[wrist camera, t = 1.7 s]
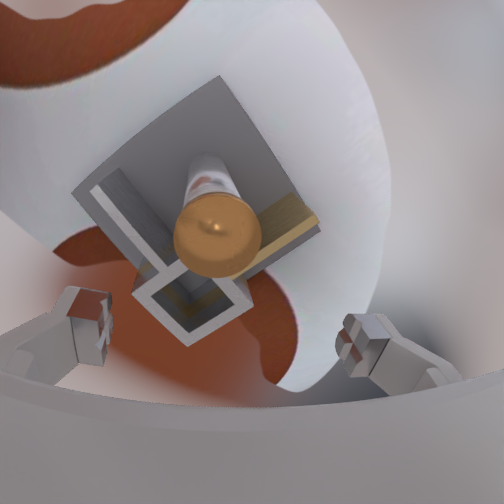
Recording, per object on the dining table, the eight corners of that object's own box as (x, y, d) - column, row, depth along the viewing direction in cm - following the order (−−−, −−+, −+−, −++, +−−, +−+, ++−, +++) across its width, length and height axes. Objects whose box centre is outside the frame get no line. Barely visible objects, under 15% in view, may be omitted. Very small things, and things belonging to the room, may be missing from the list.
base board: (74, 190, 32) (71, 193, 31) (218, 76, 30) (219, 75, 29) (186, 314, 42) (185, 319, 41) (317, 227, 40) (320, 230, 39)
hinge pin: (177, 166, 32) (155, 231, 16) (212, 141, 32) (229, 178, 15) (202, 199, 35) (208, 292, 18) (236, 175, 34) (277, 246, 17)
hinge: (88, 194, 32) (62, 218, 25) (223, 89, 30) (230, 83, 23) (187, 305, 40) (187, 346, 33) (310, 223, 38) (336, 251, 31)
